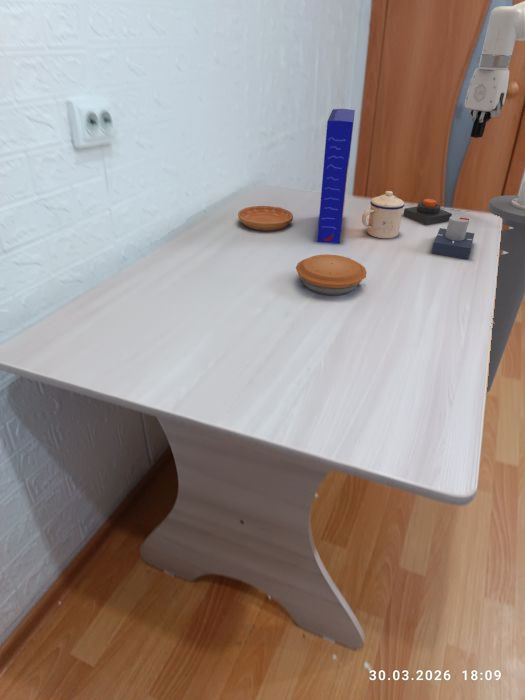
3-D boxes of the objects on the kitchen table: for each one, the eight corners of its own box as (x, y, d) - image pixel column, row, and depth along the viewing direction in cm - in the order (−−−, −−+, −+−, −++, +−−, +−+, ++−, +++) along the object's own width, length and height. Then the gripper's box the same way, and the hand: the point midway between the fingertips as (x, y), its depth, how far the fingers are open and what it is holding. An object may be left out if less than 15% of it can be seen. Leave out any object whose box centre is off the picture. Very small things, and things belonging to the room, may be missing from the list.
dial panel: (437, 238, 133) (439, 227, 131) (471, 243, 130) (474, 232, 128) (431, 253, 124) (434, 241, 122) (467, 259, 121) (471, 247, 119)
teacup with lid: (386, 226, 141) (392, 185, 134) (405, 236, 134) (413, 194, 127) (351, 231, 137) (356, 189, 130) (369, 242, 130) (375, 199, 123)
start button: (429, 203, 148) (430, 198, 147) (437, 207, 145) (438, 201, 144) (420, 205, 147) (421, 199, 146) (428, 208, 144) (430, 202, 143)
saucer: (295, 217, 146) (295, 207, 145) (289, 235, 133) (289, 224, 131) (243, 213, 148) (243, 203, 146) (233, 230, 135) (232, 220, 133)
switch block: (426, 211, 154) (429, 198, 151) (450, 220, 146) (453, 207, 144) (403, 215, 150) (405, 202, 147) (425, 225, 142) (428, 211, 140)
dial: (444, 238, 124) (449, 218, 121) (446, 233, 128) (450, 213, 125) (463, 241, 123) (469, 221, 120) (464, 235, 126) (470, 216, 124)
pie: (288, 294, 103) (289, 273, 100) (302, 266, 115) (303, 246, 113) (360, 304, 100) (364, 282, 97) (367, 274, 112) (370, 254, 109)
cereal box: (339, 243, 128) (353, 121, 112) (317, 241, 129) (327, 119, 113) (342, 218, 146) (355, 109, 130) (323, 216, 147) (332, 108, 131)
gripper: (462, 61, 132) (447, 133, 142) (508, 64, 121) (488, 142, 131) (481, 61, 135) (465, 131, 145) (528, 64, 124) (507, 140, 134)
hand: (476, 136), depth 138 cm, fingers closed
